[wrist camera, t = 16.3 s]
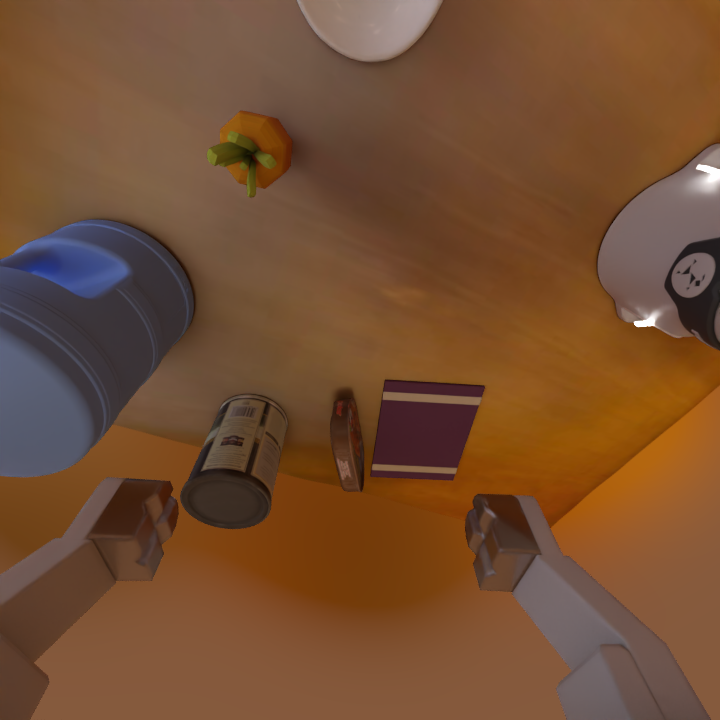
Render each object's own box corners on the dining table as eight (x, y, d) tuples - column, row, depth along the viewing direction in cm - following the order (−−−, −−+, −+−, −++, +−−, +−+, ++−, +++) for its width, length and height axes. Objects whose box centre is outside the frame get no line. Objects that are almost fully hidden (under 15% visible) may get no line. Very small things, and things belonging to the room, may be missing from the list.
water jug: (222, 323, 45) (80, 544, 22) (117, 359, 48) (-109, 589, 25) (140, 194, 37) (-226, 329, 14) (19, 246, 40) (-459, 432, 16)
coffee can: (243, 452, 58) (214, 537, 46) (203, 406, 53) (160, 489, 41) (300, 433, 56) (286, 518, 44) (266, 384, 50) (239, 465, 39)
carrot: (313, 134, 34) (290, 145, 22) (289, 183, 36) (255, 217, 24) (265, 98, 33) (210, 87, 20) (242, 151, 35) (180, 171, 22)
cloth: (484, 385, 51) (485, 387, 51) (452, 478, 62) (453, 480, 62) (384, 379, 50) (385, 381, 50) (370, 474, 61) (370, 477, 61)
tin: (365, 458, 59) (366, 504, 52) (346, 460, 59) (344, 506, 52) (352, 385, 51) (352, 428, 44) (330, 387, 51) (326, 430, 44)
